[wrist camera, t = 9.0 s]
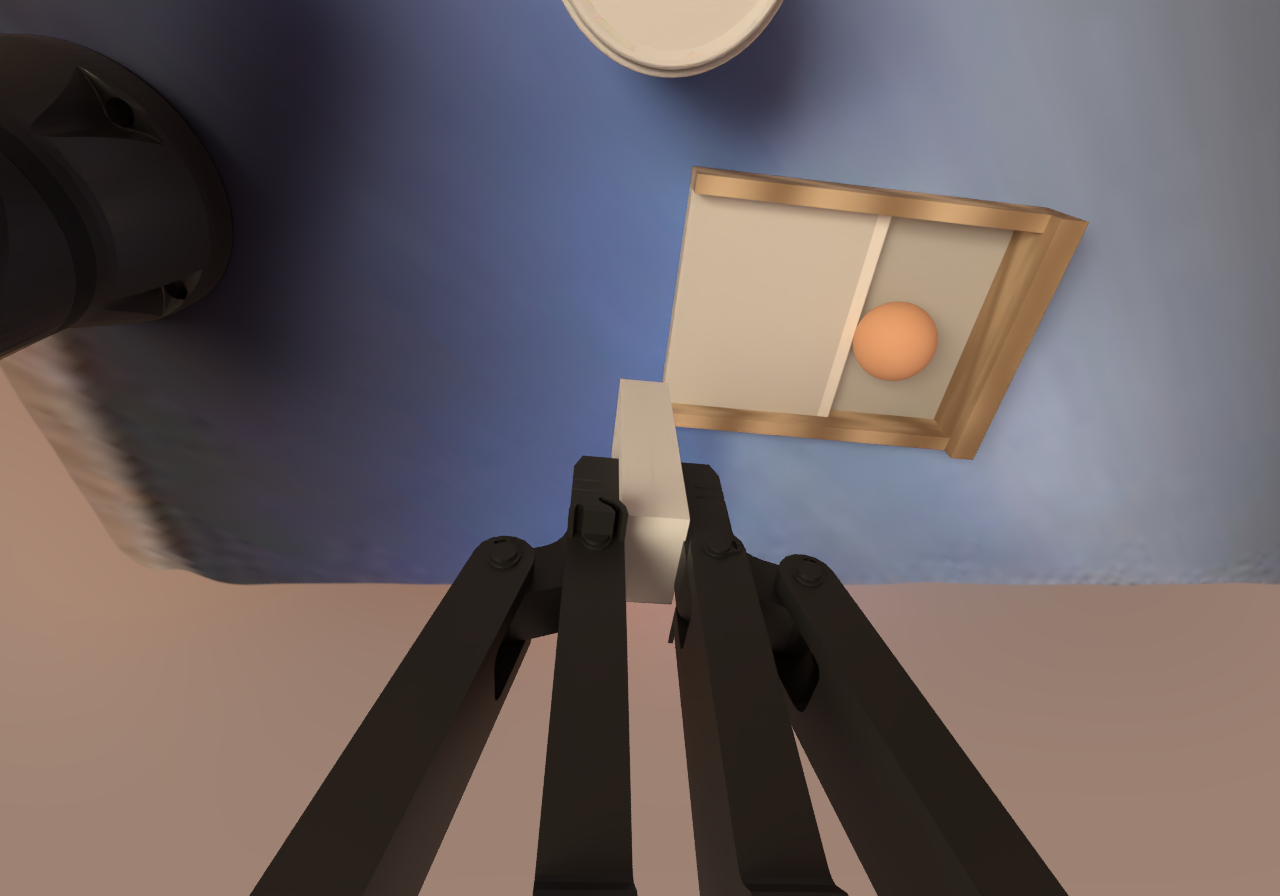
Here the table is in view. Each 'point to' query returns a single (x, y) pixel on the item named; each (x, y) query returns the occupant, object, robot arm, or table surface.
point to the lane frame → (991, 344)
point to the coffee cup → (672, 31)
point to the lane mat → (816, 304)
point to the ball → (895, 341)
